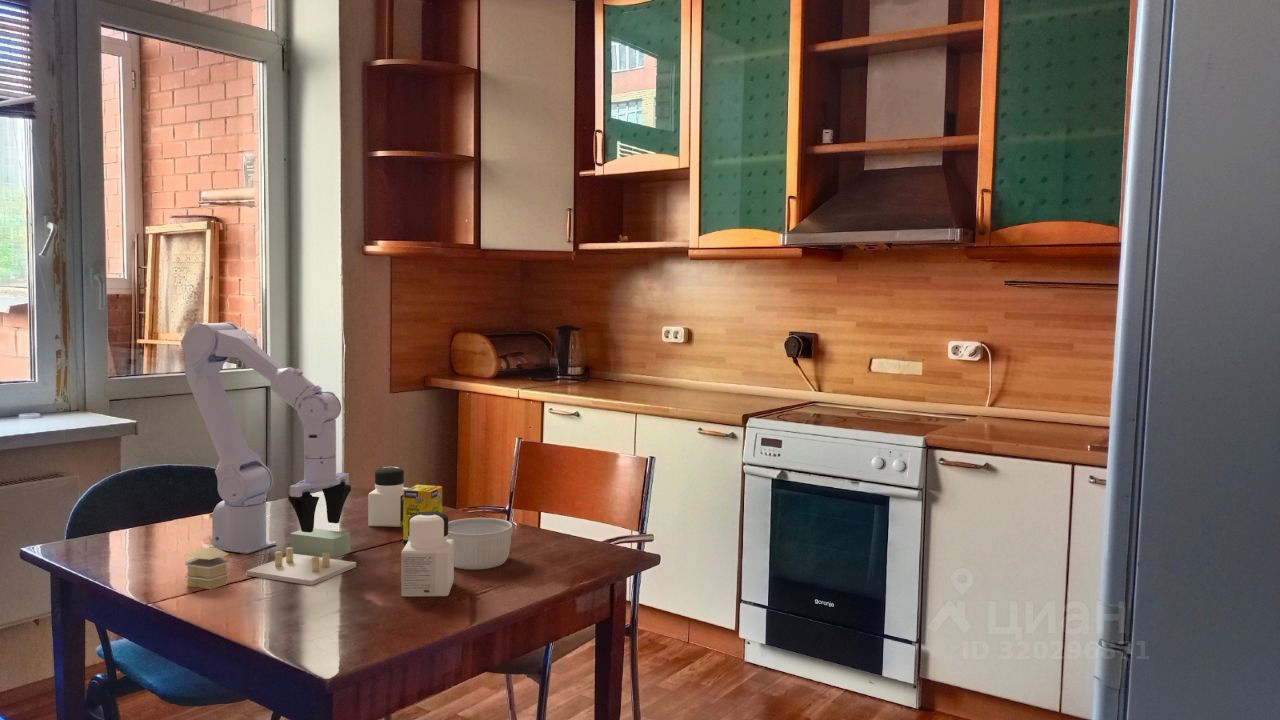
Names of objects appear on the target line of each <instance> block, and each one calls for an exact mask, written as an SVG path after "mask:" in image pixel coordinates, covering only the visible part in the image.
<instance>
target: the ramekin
mask: <svg viewBox="0 0 1280 720" xmlns="http://www.w3.org/2000/svg"><path fill="white" fill-rule="evenodd" d="M513 531H514V526H513V523H512V522H510V521H508V520H505V519H500V518H493V517H470V518H461V519H459V518H458V519H454V520H451V521H448V539H453V540H454V568H456V569H461V570H486V569H492V568H496V567H499V566H501V565H503V564H505V562H506V561H507V559H509V555H510V550H511V541H512V534H513V533H514V532H513Z"/></svg>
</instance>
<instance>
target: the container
mask: <svg viewBox="0 0 1280 720" xmlns="http://www.w3.org/2000/svg"><path fill="white" fill-rule="evenodd" d="M448 522H449V517H448V515H447V514H445V513H443V512H442V513H441V512H435V511H425V512H419V513H416V514H414V515H412V516H410V518H409V519H408V540H409V541H408V542H407V544H405V546H404V547H403V548H402V550H401V555H400V556H401V566H400V567H401V568H400V571H401V572H400V573H401V575H400V577H401V578H400V583H401V584H400V585H401V586H400V587H401V588H400V589H401V590H400V591H401V593H400V594H401V597H448V596H449V594H450V592H451V589H452V586H453V584H454V581H455V580H454V579H455V578H454V577H455V574H454V573H455V567H454V540H453V539H448Z"/></svg>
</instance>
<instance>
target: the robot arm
mask: <svg viewBox="0 0 1280 720" xmlns="http://www.w3.org/2000/svg"><path fill="white" fill-rule="evenodd" d="M186 329H187V330H186V331H185V333H184V334H183V336H182V339H181V340H180V345H181V347H182V349H183V353H184V374H185V377H186V381H187V383H188V386H189V387H190V390H191V392H192V394H193V399H194V400H195V402H196V404H197V407H198V409H199V412H200V415H201V417H202V419H203V423H204V424H205V427H206V430H207V432H208V434H209V436H210V438H211V441H212V443H213V445H214V446H213V447H214V449H215V451H216V453H217V456H218V458H219V461H218V464H217V466H216V468H215V469H214V470H215V471H214V473H215V475H216V476H215V477H216V479H217V492H218V495H219V497H220V499H222V500H221V501H220V502H218V503H217V504H216V506H215V507H214V509H213V512H212V514H211V515H212V518H211V519H212V520H211V522H212V526H211V527H212V531H211V532H212V534H211V535H212V540H211V541H212V544H211V545H209V546H208V548H217V549H219V550H222V551H224V552H226V551H227V552H232V553H239V554H246V555H247V554H251V553H254V552H257V551H261V550H263V549H266V548H269V547H272V546H275V545H277V541H273V540H268V539H267V498H268V492H269V491H271V489H272V487H273V484H274V476H273V473H272V470H271V469H270V468H269V467H268V466H267V465H265V464H264V462H263V461H262V458H261V456H260V455H259V454H258V453H256V452H255V451H253V450H251V449H250V448H249V445H248V443H247V441H246V438H245V436H244V434H243V431H242V429H241V426H240V424H239V422H238V419H237V416H236V414H235V411H234V409H233V406H232V404H231V402H230V399H229V397H228V394H227V392H226V390H225V387H224V384H223V382H222V380H221V378H220V372H221V370H222V368H223V367H224V365H225V363H226V362H228V360H229V359H230V358H236V359H238V360H239V361H240V362H242V363H244V364H245V365H246V366H248V367H249V368H251V369H252V370H253V371H255V372H257V373H258V374H259V375H260V376H262V377H264V378H265V380H267V381H269V382H270V391H272V393H274V394H275V395H277V396H278V397H279V398H280V399H281V400H283V401H284V402H286V403H287V404H288V405H289V406H291V408H293V409H294V410H296V411H297V416H298V418H299V420H300V422H301V423H302V425H303V431H304V432H303V440H304V441H303V445H304V449H303V450H304V451H303V455H304V457H303V458H304V460H303V463H304V464H303V467H304V472H303V473H304V474H303V476H304V479H303V480H300V481H298V482H297V483H296V484H291V485H290V486H289V494H288V495H287V498H288V499H287V500H288V502H289V503H290V505H291V506H292V508H293V509H294V511H295V514H296V516H297V519H298V523H299V527H300V530H301V531H302V532H309V533H311V532H313V528H314V527H315V515H316V509H317V505H318V502H319V500H320V496H313V494H311V493H315V492H317V491H321V490H322V493H323V496H324V500H325V505H326V517H327V518H326V519H327V522H328V523H330V524H331V523H332V524H339V523H340V520H341V515H342V512H343V508H344V505H345V502H346V501H347V497H348V496H349V494H350V492H351V490H352V486H351V485H350V484H349V483H350V473H347V472H337V425H336V424H337V421H336V420H337V418H339V416H340V414H341V412H342V404H341V400H340V399H339V398H338V396H337V395H336V394H335V393H334V392H331V391H322V387H321V386H320V385H319V384H318V385H315V383H313V382H312V381H311V380H309V379H308V378H306V376H304V375H303V374H304V371H302V370H301V369H300V368H294V367H285V368H284V367H282V366H281V365H280V364H279V363H278V362H277V361H275V359H273V357H271V356H270V355H269V354H268V353H267V352H266V351H264V350H263V349H262V348H261V347H260V346H259V345H258V344H257V343H256V342H254V341H253V340H252V339H251V338H250V336H249V335H248V334H247V332H246V331H244V330H243V329H240V328H239V327H238V325H236V324H235V323H232V322H230V321H222V322H213V323H211V322H210V323H209V322H207V323H205V322H196V323H193V324H192V325H190V326H189V327H188V328H186ZM314 529H315V528H314Z"/></svg>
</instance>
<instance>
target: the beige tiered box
mask: <svg viewBox="0 0 1280 720" xmlns="http://www.w3.org/2000/svg"><path fill="white" fill-rule="evenodd" d="M227 555H228V556H229V553H228V552H226V551H224V550H219V549H217V548H209V547H202V548H198V549H195V550H193V551H190V552H188V553H186V554H185V557H186V558H191V559H189V560H187V561H185V562H184V564H185V566H187V573H185V576H184V577H185V578H187V587H190V588H202V589H207V590H213V589H216V588H219V587H222V586H225V585H227V583H228V582H227V579H228V578H227V576H230V573H229V572H227V565H228V564H230V561H229V560H227V559H225V558H223V557H224V556H227Z"/></svg>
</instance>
